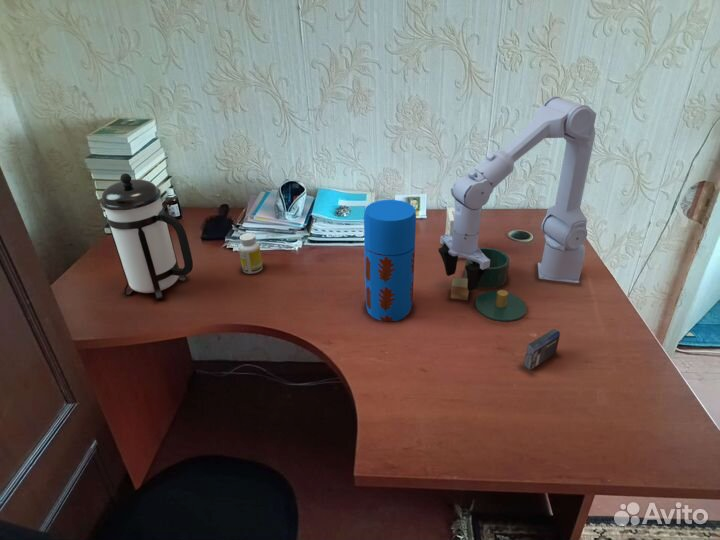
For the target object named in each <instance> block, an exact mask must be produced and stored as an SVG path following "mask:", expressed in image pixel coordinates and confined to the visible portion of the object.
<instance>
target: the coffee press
mask: <svg viewBox="0 0 720 540" xmlns="http://www.w3.org/2000/svg"><path fill="white" fill-rule="evenodd" d="M119 180H120V181H118V182H115V183H113V184H111V185H109V186H108V187H106V188H105V189H104V190H103V191H102V193H101V198H100V200H99V203H100V205H101V207H102V208H103V209H104V212H105V218H106V222H107V224H108V228H109V230H110V234H111V237H112V240H113V243H114V246H115V249H116V252H117V256H118V259H119V262H120V265H121V268H122V272H123V274H124V278H125V281H126V285H125V286H124V290H123V291H124V294H125V295H126V296H130V295H132V293H133V292H134V291H135V292H136V293H137V292H138V293H142V294H150V293H155V297H156V300H157V302H160V301H162V300H163V301H164V298H163V294H162V291H164V290H166V289H168V288H170V287H172V286H173V285H174V284H175V283H176V282H177V281H181V282H185V281H187V275H188V274H190V273H191V272H192V271H193V268H194V262H193V257H192V252H191V248H190V244H189V239H188V236H187V232H186V230H185V228H184V226H183V224H182V223H181V222H180V221H179V219H178V218H176V217H174V216H173V215H171V214H167V213H166V212H165V211H166V210H165V208H164V207H165V206H164V205H163V203H162V199H161V197H162V192H161V189H160V188H159V187H157V186H156V185H155V183H153V182H151V181H149V180H146V179H140V178H139V179H137V178H136V179H133V178H132V176H131V175H130V174H129V173H122V174H121V175H120V178H119ZM169 225H170V226H171V227H172V228H173V229H174V230H175V232H176V235H177V238H178V243H179V246H180V247H179V248H180V251H181V255H182V258H183V265H184V266H183V267H182V268H181V267H180V266H179V262H178V258H177V255H176V251H175V247H174V242H173V239H172V235H171V230H170V227H169ZM128 287H130V290H129V291H127V290H128Z"/></svg>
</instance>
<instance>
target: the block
mask: <svg viewBox="0 0 720 540" xmlns="http://www.w3.org/2000/svg"><path fill="white" fill-rule="evenodd" d="M467 283H468V279H466V278H465V277H456V276H453V277H452V282H451V288H450V299H454V300H463V301H468V300H469V294H470V291H469V290H468V288H467Z"/></svg>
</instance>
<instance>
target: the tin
mask: <svg viewBox="0 0 720 540" xmlns="http://www.w3.org/2000/svg"><path fill="white" fill-rule="evenodd" d="M478 248H479V249H480V250H481V251H482V253H483V254H484V255H485V256H486V257H487V258H488V259H490V267H489V268H488V269H487V270H486V272H485V273H484V274H483V276H482V277H481V279H480V281H479V283H478V286H477V288H483V289H484V288H485V289H494V288H498V287H500V286H503V285H505V283H507V281H508V276H509V275H508V274H509V268H510V257H509V256H508V254H507V253H506V252H503V251H502V250H500V249H496V248H494V247H493V248H492V247H478ZM464 263H465V264H464V273H463V278H466V279H468V276H467V271H466V268H465V266H466V265H469V264H473V261H471V260H469V259H466V258H465V262H464Z"/></svg>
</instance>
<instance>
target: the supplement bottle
mask: <svg viewBox="0 0 720 540" xmlns="http://www.w3.org/2000/svg"><path fill="white" fill-rule="evenodd" d="M238 254H239V258H240V259H239V260H240V265H241V270H242V271H243V273H245V274H249V275H253V274H257V273H259V272H262V270H263V268H264V266H263V265H264V264H263V260H262V259H263V258H262V253H261V246H260V243H259V242H258V241H257V237H256V234H255V233H253V232H252V233H251V232H246V233H242V234H241V235H240V236H239V244H238Z"/></svg>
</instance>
